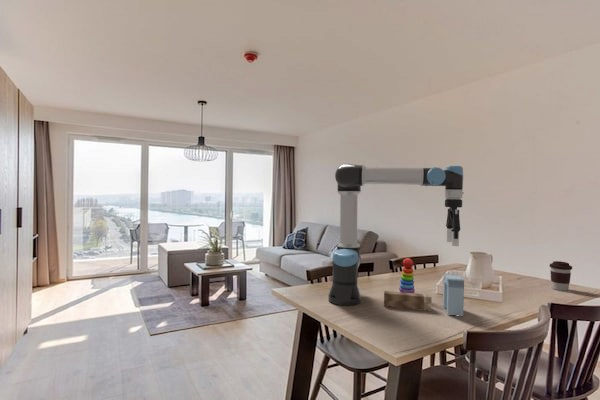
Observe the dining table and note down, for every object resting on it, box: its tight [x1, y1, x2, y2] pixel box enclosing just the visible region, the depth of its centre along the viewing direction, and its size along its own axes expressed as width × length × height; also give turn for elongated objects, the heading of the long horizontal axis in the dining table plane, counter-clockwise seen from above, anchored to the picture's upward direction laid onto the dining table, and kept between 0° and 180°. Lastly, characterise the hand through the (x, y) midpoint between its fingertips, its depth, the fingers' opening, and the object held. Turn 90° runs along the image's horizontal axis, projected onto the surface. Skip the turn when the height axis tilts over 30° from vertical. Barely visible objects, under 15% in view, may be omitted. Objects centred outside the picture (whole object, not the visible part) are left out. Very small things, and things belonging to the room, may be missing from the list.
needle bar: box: [383, 290, 432, 311], centre depth 153 cm, size 20×4×6 cm, turn 76°
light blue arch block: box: [442, 273, 465, 317], centre depth 148 cm, size 6×12×15 cm, turn 166°
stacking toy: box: [398, 257, 416, 293], centre depth 171 cm, size 8×8×19 cm
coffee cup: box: [549, 260, 573, 292], centre depth 188 cm, size 10×10×15 cm
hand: (452, 244), depth 161 cm, fingers open, 13 cm apart
